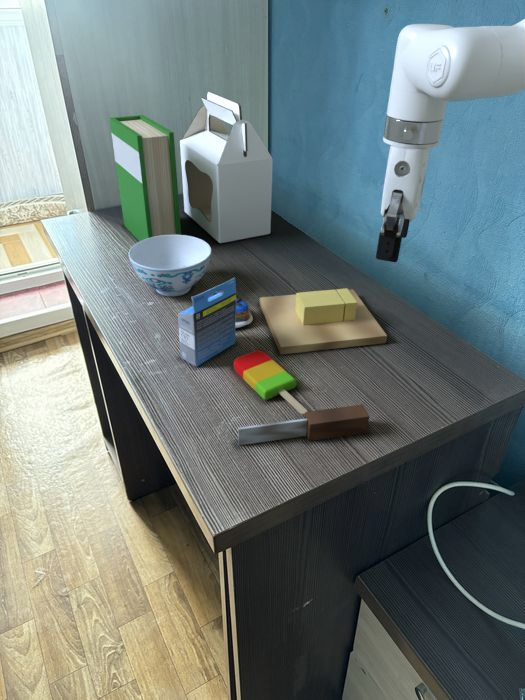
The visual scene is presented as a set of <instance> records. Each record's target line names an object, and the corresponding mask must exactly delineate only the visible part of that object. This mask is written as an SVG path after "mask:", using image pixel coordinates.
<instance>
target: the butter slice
mask: <svg viewBox="0 0 525 700" xmlns="http://www.w3.org/2000/svg"><path fill="white" fill-rule="evenodd" d="M335 290H336V291H337V293H338V294H339V296H340V297H341V299H342V300H343V302H344V303H345V306H344V313H343V321H350V320H355V315H356V308H357V301H356V300H355V299H354V297H353V296H352V294H351V293H350V292H349V290H350V289H349V288H347V287H346V288H345V287H344V288H337V289H336V288H335Z"/></svg>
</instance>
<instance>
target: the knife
mask: <svg viewBox="0 0 525 700" xmlns="http://www.w3.org/2000/svg"><path fill="white" fill-rule="evenodd" d="M369 421H370V415H369V413H368V411H367V409H366V407H365V406H364V404H356V405H348V406H340V407H333V408H324V409H318V410H310V411H309V410H308V412H305V415H304V418H299V419H291V420H285V421H278V422H277V421H276V422H269V423H261V424H255V425H247V426H239V427H237V445H238V446H245V445H252V444H257V443H258V444H259V443H266V442H272V441H273V442H274V441H280V440H286V439H292V438H293V439H294V438H301V437H306V439H307V442H312V441H319V440H325V439H333V438H340V437H347V436H354V435H360V434H367V431H368V426H369Z"/></svg>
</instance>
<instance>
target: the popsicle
mask: <svg viewBox="0 0 525 700" xmlns="http://www.w3.org/2000/svg"><path fill="white" fill-rule="evenodd" d="M233 370H234V371H235V373H236V374H238V376H239V377H240V378H241V379H243V381H245V383H246V384H247V385H249V386H250V387H251V389H253V390H254V391H255V392H256V393H257V394H258V395H259V396H260V397H261V398H262V399H263V400H264V401H267V400H270V399H272V398H275V397H277V396H279V395H280V396H281V397H282V398H283V399H285V400H286V402H287V403H289V404H290V405H291V406H292V407H293V409H295V410H296V411H297V412H298V413H299V414H300V415H301V416H305V412H309V410H308V409H307V408H305V406H303V405H302V404H301V403H300V402H299V401H297V399H296V398H294V397H293V396H292V395H291V394H290V393H289V392H288V391H291V390H294V389H296V388H297V379H296V378H295V377H293V376H292V375H291V374H290V373H289V372H287V371H286V369H285V368H283V367H282V366H281V365H279V363H278V362H276V361H275V360H274V359H273V358H272V357H271V356H269V355H268V354H267V353H266V352H264V351H262V350H253V351H251V352H248V353H246V354H243V355H241V356H238V357H236V358H235V359H234V361H233Z"/></svg>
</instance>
